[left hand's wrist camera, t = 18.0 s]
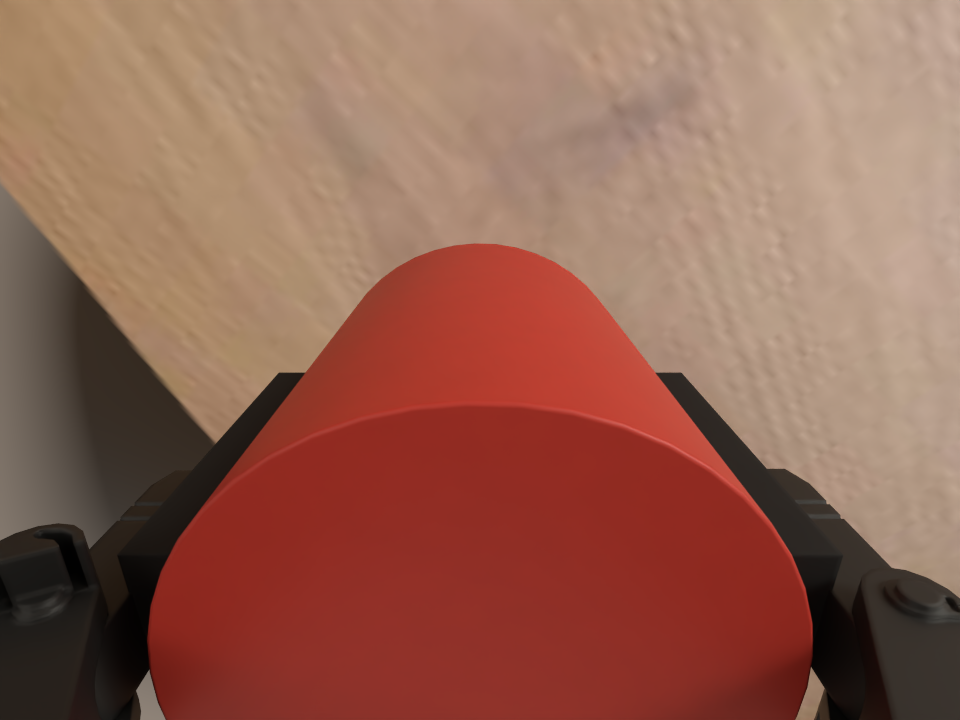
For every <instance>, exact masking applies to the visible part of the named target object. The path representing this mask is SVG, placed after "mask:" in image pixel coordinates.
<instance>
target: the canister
mask: <svg viewBox="0 0 960 720" xmlns="http://www.w3.org/2000/svg"><path fill="white" fill-rule="evenodd" d="M147 644H148V656H149V668H150V675H151V678H152V682H153V686H154V690H155V693H156V697H157V701H158V704H159V706H160V708H161V710H162V712H163V714H164V717H165V719H166V720H795V719H796V717H797V714H798V712H799V709H800V706H801V703H802V701H803V698H804V695H805V692H806V690H807V686H808V680H809V675H810V669H811V663H812V658H813V636H812V619H811V614H810V609H809V604H808V599H807V594H806V589H805V586H804V584H803V581H802V579H801V576H800V574H799V571H798V569H797V566H796V564H795V561H794V559H793V556H792V554H791V553H790V551H789V550H788V548H787V547H786V545H785V543H784V542H783V540H782V539H781V537H780V536H779V534H778V532H777V531H776V529H775V528H774V526H773V524H772V523H771V522H770V520H769V519H768V518H767V516H766V515H765V514H764V513H763V511H762V510H761V509H760V507H759V506H758V505H757V504H756V502H755V501H754V500H753V498H752V497H751V496H750V495H749V493H748V492H747V491H746V489H745V488H744V487H743V485H742V484H741V483H740V482H739V480H738V479H737V478H736V476H735V475H734V474H733V473H732V471H731V470H730V469H729V467H728V466H727V465H726V464H725V462H724V461H723V460H722V458H721V457H720V456H719V454H718V453H717V452H716V451H715V449H714V448H713V447H712V445H711V444H710V443H709V442H708V440H707V439H706V438H705V436H704V435H703V434H702V433H701V431H700V430H699V429H698V427H697V426H696V425H695V423H694V422H693V421H692V420H691V418H690V417H689V416H688V414H687V413H686V412H685V411H684V409H683V408H682V407H681V405H680V404H679V403H678V402H677V400H676V399H675V398H674V396H673V395H672V394H671V392H670V391H669V390H668V389H667V387H666V386H665V385H664V383H663V382H662V381H661V380H660V378H659V377H658V376H657V374H656V373H655V372H654V370H653V369H652V368H651V367H650V365H649V364H648V363H647V361H646V360H645V359H644V358H643V356H642V355H641V354H640V352H639V351H638V350H637V349H636V347H635V346H634V345H633V343H632V342H631V341H630V339H629V338H628V337H627V336H626V334H625V333H624V332H623V330H622V329H621V328H620V327H619V325H618V324H617V323H616V321H615V320H614V319H613V318H612V316H611V315H610V314H609V312H608V311H607V310H606V308H605V307H604V306H603V305H602V303H601V302H600V301H599V300H598V298H597V297H596V296H595V295H594V294H593V293H592V292H591V290H590V289H589V288H588V287H587V286H586V285H585V284H584V283H582V282H581V281H580V280H579V279H578V278H577V277H575V276H574V275H573V274H572V273H571V272H569V271H567V270H566V269H564V268H563V267H561V266H560V265H558V264H556V263H555V262H553V261H551V260H548V259H546V258H544V257H542V256H540V255H538V254H535V253H532V252H529V251H525V250H522V249H519V248H515V247H509V246H503V245H497V244H466V245H456V246H451V247H446V248H442V249H438V250H434V251H431V252H429V253H426V254H423V255H421V256H418V257H415V258H413V259H412V260H410V261H408V262H406V263H404V264H402V265H401V266H399V267H397V268H396V269H394V270H393V271H392V272H390V273H389V274H388V275H386V276H385V277H383V278H382V279H381V280H380V281H379V282H378V283H377V284H376V285H375V286H374V287H373V288H372V289H371V290H370V291H369V292H368V293H367V294H366V295H365V296H364V298H363V299H362V300H361V302H360V303H359V304H358V306H357V307H356V308H355V309H354V311H353V312H352V313H351V315H350V316H349V317H348V318H347V320H346V321H345V322H344V324H343V325H342V326H341V328H340V329H339V330H338V331H337V333H336V334H335V335H334V337H333V338H332V339H331V341H330V342H329V343H328V344H327V346H326V347H325V348H324V350H323V351H322V352H321V353H320V355H319V356H318V357H317V359H316V360H315V361H314V363H313V364H312V365H311V366H310V368H309V369H308V370H307V372H306V373H305V374H304V376H303V377H302V378H301V379H300V381H299V382H298V383H297V385H296V386H295V387H294V388H293V390H292V391H291V392H290V394H289V395H288V396H287V398H286V399H285V400H284V401H283V403H282V404H281V405H280V407H279V408H278V409H277V411H276V412H275V413H274V414H273V416H272V417H271V418H270V420H269V421H268V422H267V423H266V425H265V426H264V427H263V429H262V430H261V431H260V433H259V434H258V435H257V436H256V438H255V439H254V440H253V442H252V443H251V444H250V446H249V447H248V448H247V449H246V451H245V452H244V453H243V455H242V456H241V457H240V459H239V460H238V461H237V462H236V464H235V465H234V466H233V468H232V469H231V470H230V471H229V473H228V474H227V475H226V477H225V478H224V479H223V481H222V482H221V483H220V484H219V486H218V487H217V488H216V490H215V491H214V492H213V494H212V495H211V496H210V497H209V499H208V500H207V501H206V503H205V504H204V505H203V506H202V508H201V509H200V510H199V512H198V513H197V514H196V516H195V517H194V518H193V520H192V521H191V522H190V524H189V525H188V526H187V528H186V529H185V530H184V531H183V533H182V534H181V535H180V537H179V538H178V539H177V541H176V543H175V545H174V547H173V549H172V551H171V553H170V555H169V557H168V559H167V561H166V563H165V565H164V567H163V569H162V571H161V573H160V576H159V580H158V583H157V586H156V590H155V593H154V596H153V600H152V603H151V608H150V618H149V628H148V637H147Z"/></svg>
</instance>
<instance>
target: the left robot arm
mask: <svg viewBox="0 0 960 720" xmlns="http://www.w3.org/2000/svg"><path fill="white" fill-rule="evenodd" d="M304 374H305V373H278V374H277V376H276V377H275V378H274V379H273V380H272V381H271V382H270V383H269V385H268V386H267V387H266V388H265V389H264V390H263V391H262V392H261V394H260V395H259V396H258V397H257V398H256V399H255V400H254V401H253V403H252V404H251V405H250V406H249V407H248V408H247V409H246V410H245V412H244V413H243V414H242V415H241V416H240V417H239V418H238V419H237V421H236V422H235V423H234V424H233V425H232V426H231V427H230V429H229V430H228V431H227V432H226V433H225V434H224V435H223V436H222V438H221V439H220V440H219V441H218V442H217V443H216V444H215V445H214V447H213V448H212V449H211V450H210V451H209V452H208V453H207V454H206V456H205V457H204V458H203V459H202V460H201V461H200V462H199V463H198V465H197V466H196V467H195V468H194V469H193V470H192V471H175V472H173V473H171V474H170V475H168V476H166V477H165V478H163V479H161V480H160V481H158V482H156V483H155V484H153V485H152V486H151V487H150V488H149V489H148V490H147V491H146V492H145V493H144V494H143V495H142V496H141V497H140V498H139V499H138V500H137V501H136V502H135V506H131V507H130V508H129V509H128V510H127V511H126V512H125V513H124V514H123V515H122V516H121V520H120V521H117V522H116V523H115V524H114V525H113V526H112V527H111V528H110V529H109V530H108V531H107V532H106V533H105V534H104V535H103V536H102V537H101V538H100V539H99V540H98V541H97V542H96V543H95V544H94V545H93V546H92V547H91V548H90V549H89V548H88V545H87V542H86V539H85V536H84V533H83V531H82V530H81V529H79V528H78V527H76V526H75V525H68V524H51V525H44V526H38V527H34V528H31V529H28V530H25V531H22V532H18V533H15V534H13V535H11V536H9V537H7V538H5V539H3V540H1V541H0V720H140V715H141V709H140V703H139V698H138V695H137V692H136V690H137V688H138V686H139V685H140V683H141V682H142V680H143V679H144V677H145V675H146V674H147V672H148V671H149V669H150V668H149V656H148V644H147V637H148V628H149V618H150V608H151V603H152V600H153V596H154V593H155V590H156V586H157V583H158V580H159V576H160V573H161V571H162V569H163V567H164V565H165V563H166V561H167V559H168V557H169V555H170V553H171V551H172V549H173V547H174V545H175V543H176V541H177V539H178V538H179V537H180V535H181V534H182V533H183V531H184V530H185V529H186V528H187V526H188V525H189V524H190V522H191V521H192V520H193V518H194V517H195V516H196V514H197V513H198V512H199V510H200V509H201V508H202V506H203V505H204V504H205V503H206V501H207V500H208V499H209V497H210V496H211V495H212V494H213V492H214V491H215V490H216V488H217V487H218V486H219V484H220V483H221V482H222V481H223V479H224V478H225V477H226V475H227V474H228V473H229V471H230V470H231V469H232V468H233V466H234V465H235V464H236V462H237V461H238V460H239V459H240V457H241V456H242V455H243V453H244V452H245V451H246V449H247V448H248V447H249V446H250V444H251V443H252V442H253V440H254V439H255V438H256V436H257V435H258V434H259V433H260V431H261V430H262V429H263V427H264V426H265V425H266V423H267V422H268V421H269V420H270V418H271V417H272V416H273V414H274V413H275V412H276V411H277V409H278V408H279V407H280V405H281V404H282V403H283V401H284V400H285V399H286V398H287V396H288V395H289V394H290V392H291V391H292V390H293V388H294V387H295V386H296V385H297V383H298V382H299V381H300V379H301V378H302V377H303V376H304ZM656 374H657V376H658V377H659V378H660V380H661V381H662V382H663V383H664V385H665V386H666V387H667V389H668V390H669V391H670V392H671V394H672V395H673V396H674V398H675V399H676V400H677V402H678V403H679V404H680V405H681V407H682V408H683V409H684V411H685V412H686V413H687V414H688V416H689V417H690V418H691V420H692V421H693V422H694V423H695V425H696V426H697V427H698V429H699V430H700V431H701V433H702V434H703V435H704V436H705V438H706V439H707V440H708V442H709V443H710V444H711V445H712V447H713V448H714V449H715V451H716V452H717V453H718V454H719V456H720V457H721V458H722V460H723V461H724V462H725V464H726V465H727V466H728V467H729V469H730V470H731V471H732V473H733V474H734V475H735V476H736V478H737V479H738V480H739V482H740V483H741V484H742V485H743V487H744V488H745V489H746V491H747V492H748V493H749V495H750V496H751V497H752V498H753V500H754V501H755V502H756V504H757V505H758V506H759V507H760V509H761V510H762V511H763V513H764V514H765V515H766V516H767V518H768V519H769V520H770V522H771V523H772V524H773V526H774V528H775V529H776V531H777V532H778V534H779V536H780V537H781V539H782V540H783V542H784V543H785V545H786V547H787V548H788V550H789V551H790V553H791V554H792V556H793V559H794V561H795V564H796V566H797V569H798V571H799V574H800V576H801V579H802V581H803V584H804V586H805V589H806V594H807V599H808V604H809V609H810V614H811V619H812V636H813V658H812V663H811V667H812V669H813V670H814V672H815V673H816V675H817V677H818V678H819V680H820V681H821V683H822V684H823V686H824V688H825V689H824V692H823V695H822V698H821V701H820V704H819V707H818V710H817V713H816V716H815V719H814V720H960V598H958V597H957V596H956V595H955V594H953V593H952V592H951V591H950V590H948V589H947V588H945V587H943V586H941V585H939V584H938V583H936V582H934V581H932V580H930V579H928V578H926V577H923V576H921V575H918V574H915V573H912V572H909V571H906V570H901V569H894V568H891V567H890V566H889V565H888V564H887V563H886V562H885V561H884V560H883V559H882V558H881V557H880V555H879V554H878V553H877V552H876V551H875V550H874V549H873V548H872V547H871V546H870V545H869V544H868V543H867V542H866V541H865V540H864V539H863V538H862V537H861V536H860V535H859V534H858V533H857V532H856V531H855V530H854V529H853V528H852V527H851V526H850V525H849V524H848V523H847V522H846V521H845V520H844V519H841V518H840V515H839V514H838V512H837V511H836V510H835V509H834V508H833V507H832V506H831V505H830V504H826V500H825V499H824V498H823V497H822V496H821V495H820V494H819V493H818V492H817V491H816V490H815V489H814V488H813V487H812V486H811V485H810V484H809V483H807V482H806V481H804V480H802V479H801V478H799V477H797V476H796V475H794V474H792V473H791V472H789V471H787V470H786V469H766V467H765V466H764V465H763V464H762V463H761V462H760V461H759V460H758V458H757V457H756V456H755V455H754V454H753V453H752V452H751V451H750V449H749V448H748V447H747V446H746V445H745V444H744V443H743V442H742V440H741V439H740V438H739V437H738V436H737V435H736V434H735V433H734V431H733V430H732V429H731V428H730V427H729V426H728V425H727V424H726V422H725V421H724V420H723V419H722V418H721V417H720V416H719V415H718V413H717V412H716V411H715V410H714V409H713V408H712V407H711V406H710V404H709V403H708V402H707V401H706V400H705V399H704V398H703V397H702V395H701V394H700V393H699V392H698V391H697V390H696V389H695V388H694V386H693V385H692V384H691V383H690V382H689V381H688V380H687V379H686V377H685V376H684V375H683V374H682V373H656Z"/></svg>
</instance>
